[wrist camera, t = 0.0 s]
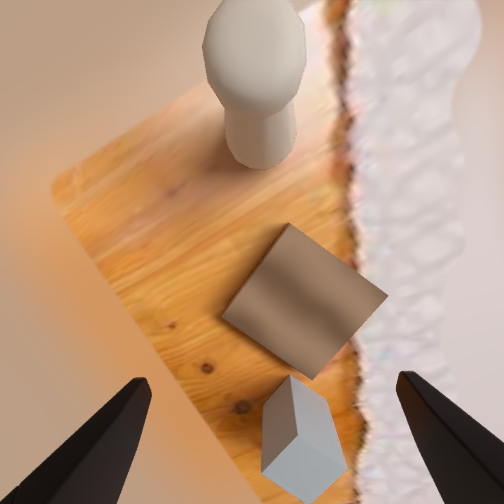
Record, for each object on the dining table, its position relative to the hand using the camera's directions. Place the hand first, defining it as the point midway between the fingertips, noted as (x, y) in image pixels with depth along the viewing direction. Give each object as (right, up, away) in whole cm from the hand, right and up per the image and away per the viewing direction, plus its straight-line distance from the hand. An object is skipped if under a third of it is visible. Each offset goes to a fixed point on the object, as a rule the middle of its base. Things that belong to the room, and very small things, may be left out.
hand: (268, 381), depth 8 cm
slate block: (+4, -12, +18) cm, 22 cm away
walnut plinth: (+4, 0, +15) cm, 16 cm away
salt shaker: (0, +15, +13) cm, 20 cm away
